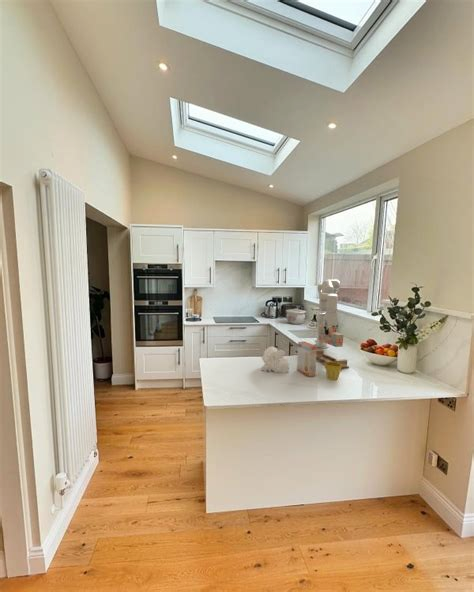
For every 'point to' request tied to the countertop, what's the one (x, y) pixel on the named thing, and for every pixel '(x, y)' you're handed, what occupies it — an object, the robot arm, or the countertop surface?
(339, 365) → the plant pot
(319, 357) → the cradle
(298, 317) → the chamber pot
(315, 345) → the robot arm
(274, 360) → the cauliflower
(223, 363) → the countertop surface
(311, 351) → the cracker box
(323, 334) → the stack of blocks
